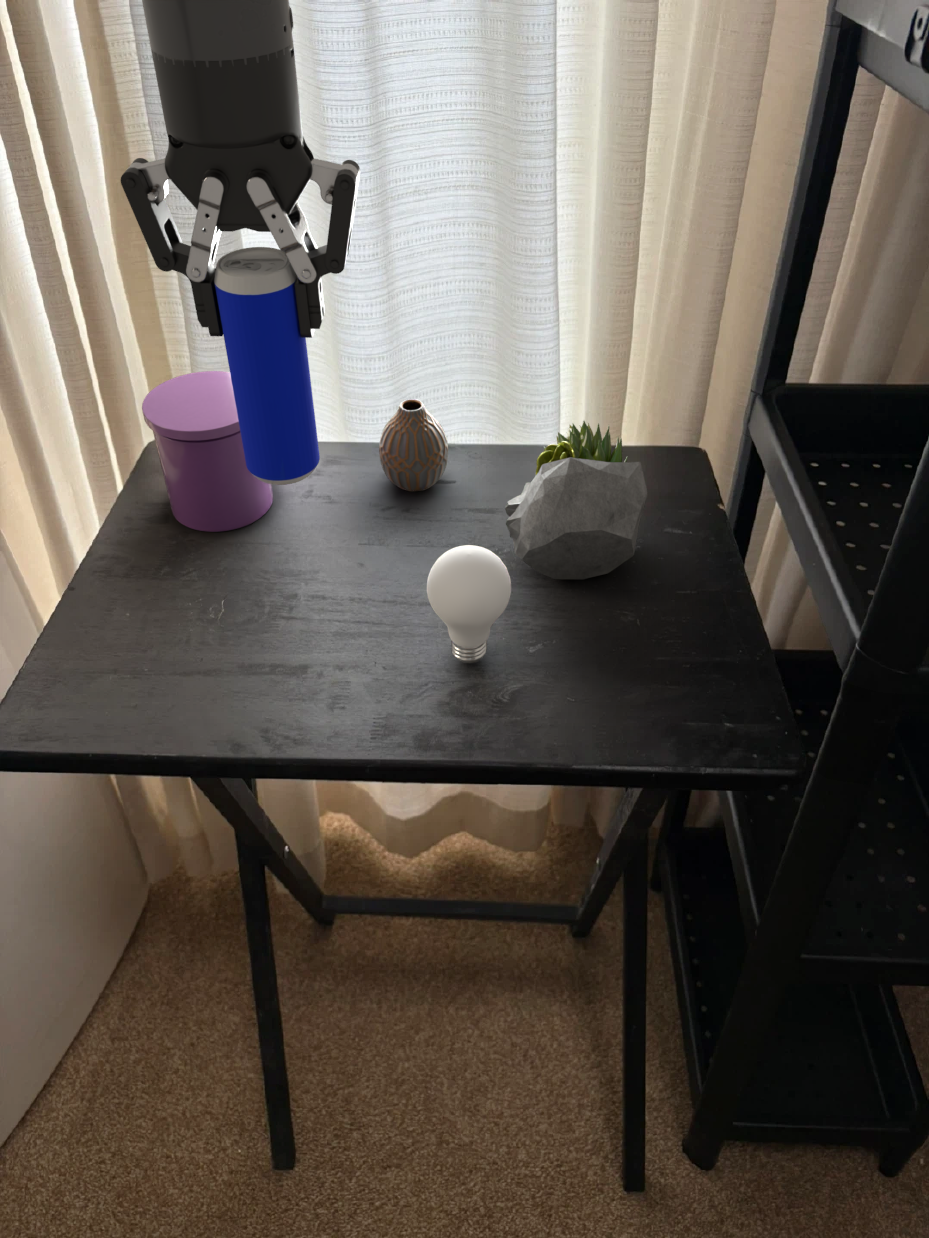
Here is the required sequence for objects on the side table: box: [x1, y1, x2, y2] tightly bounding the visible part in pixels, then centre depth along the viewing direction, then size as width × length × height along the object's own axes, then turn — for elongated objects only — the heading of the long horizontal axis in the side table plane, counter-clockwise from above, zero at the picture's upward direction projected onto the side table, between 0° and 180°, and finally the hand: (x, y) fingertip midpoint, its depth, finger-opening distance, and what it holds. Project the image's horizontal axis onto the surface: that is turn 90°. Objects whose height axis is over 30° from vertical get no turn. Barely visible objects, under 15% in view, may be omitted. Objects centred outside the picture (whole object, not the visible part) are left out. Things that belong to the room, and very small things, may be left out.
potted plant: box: [504, 420, 649, 580], centre depth 94 cm, size 12×13×15 cm
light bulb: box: [426, 544, 512, 664], centre depth 82 cm, size 7×7×11 cm
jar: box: [141, 370, 274, 533], centre depth 99 cm, size 11×11×12 cm
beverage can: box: [214, 246, 321, 486], centre depth 68 cm, size 5×5×15 cm
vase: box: [378, 398, 449, 492], centre depth 103 cm, size 7×7×9 cm
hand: (264, 330), depth 66 cm, fingers closed on beverage can, 5 cm apart
